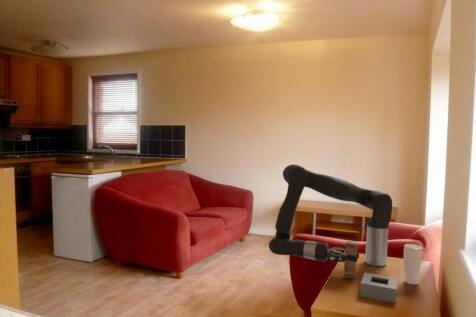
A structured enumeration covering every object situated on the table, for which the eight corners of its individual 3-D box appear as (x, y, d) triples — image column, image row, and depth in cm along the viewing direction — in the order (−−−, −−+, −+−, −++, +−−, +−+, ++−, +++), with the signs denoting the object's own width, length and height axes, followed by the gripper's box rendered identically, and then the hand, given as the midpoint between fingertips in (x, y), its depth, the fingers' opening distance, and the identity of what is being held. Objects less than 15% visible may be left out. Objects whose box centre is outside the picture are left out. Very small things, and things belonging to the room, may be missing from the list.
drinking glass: (419, 287, 151) (421, 249, 150) (400, 283, 154) (403, 246, 153) (421, 281, 157) (423, 245, 156) (403, 278, 160) (405, 242, 159)
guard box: (363, 284, 151) (364, 272, 151) (396, 290, 147) (397, 278, 146) (360, 296, 140) (360, 282, 140) (395, 303, 136) (396, 289, 135)
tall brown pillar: (345, 273, 160) (347, 240, 159) (355, 275, 158) (357, 242, 157) (343, 276, 156) (345, 242, 155) (353, 278, 155) (356, 244, 154)
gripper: (312, 246, 156) (356, 253, 149) (319, 238, 169) (360, 243, 162) (311, 264, 156) (355, 272, 149) (319, 254, 169) (359, 261, 162)
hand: (357, 257), depth 156 cm, fingers closed on tall brown pillar, 4 cm apart
